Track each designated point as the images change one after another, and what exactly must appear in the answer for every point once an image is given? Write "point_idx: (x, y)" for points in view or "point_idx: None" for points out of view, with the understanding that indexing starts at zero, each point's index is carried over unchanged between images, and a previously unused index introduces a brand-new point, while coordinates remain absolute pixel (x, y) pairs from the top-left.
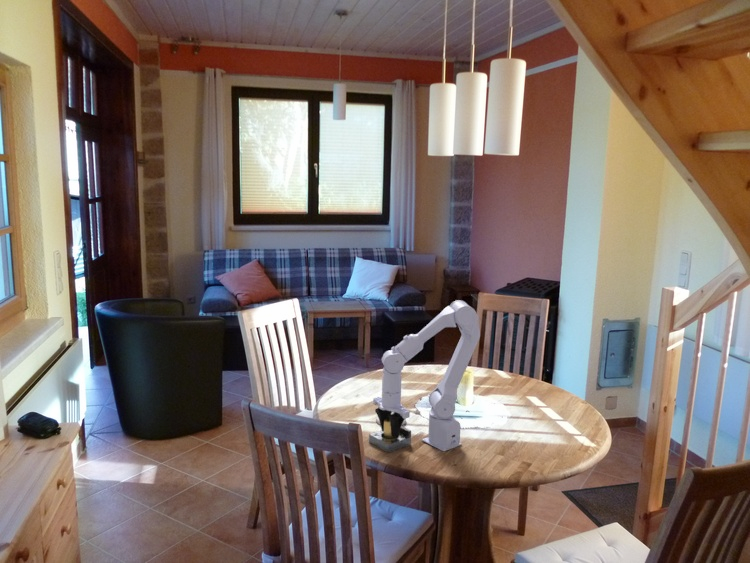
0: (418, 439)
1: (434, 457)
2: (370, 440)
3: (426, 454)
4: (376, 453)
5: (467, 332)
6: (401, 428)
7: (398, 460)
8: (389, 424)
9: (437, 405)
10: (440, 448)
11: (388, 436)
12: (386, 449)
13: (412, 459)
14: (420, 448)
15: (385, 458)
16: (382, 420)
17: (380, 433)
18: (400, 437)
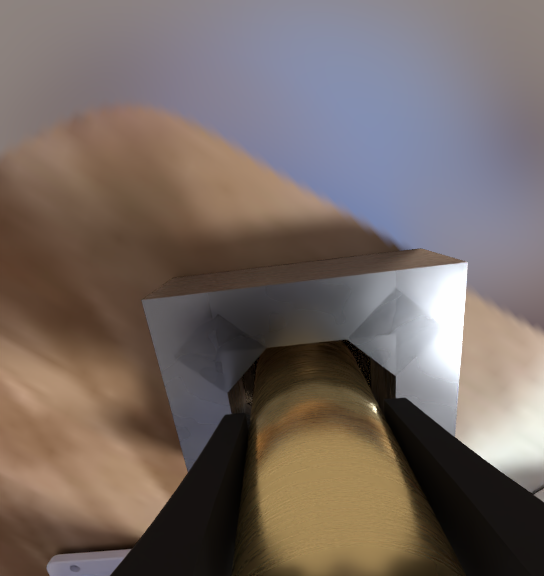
0: None
1: (3, 482)
2: (410, 254)
3: (55, 469)
4: (199, 182)
5: None
6: None
7: (21, 272)
8: (261, 545)
9: None
10: (69, 563)
11: (270, 386)
12: (189, 280)
13: (10, 365)
14: (145, 484)
15: (85, 200)
16: (487, 541)
17: (404, 369)
18: None
